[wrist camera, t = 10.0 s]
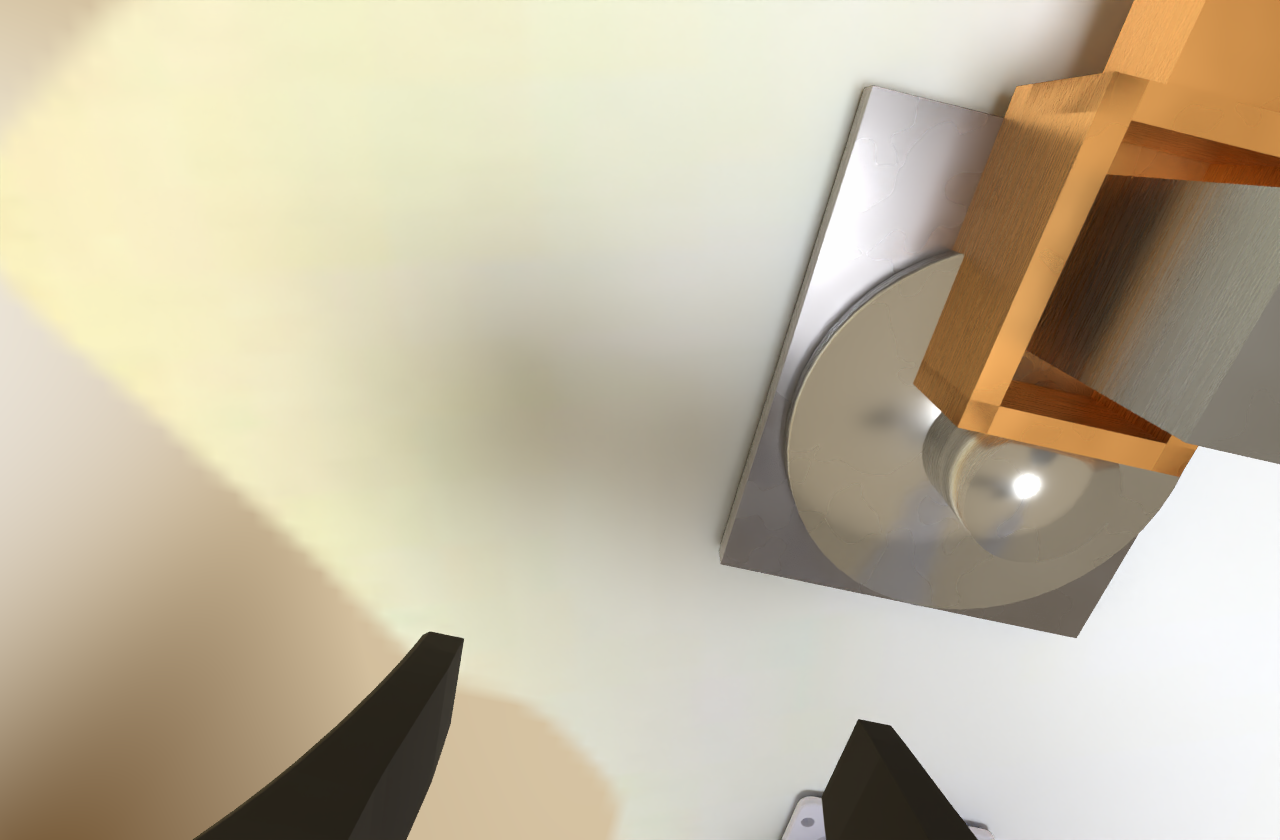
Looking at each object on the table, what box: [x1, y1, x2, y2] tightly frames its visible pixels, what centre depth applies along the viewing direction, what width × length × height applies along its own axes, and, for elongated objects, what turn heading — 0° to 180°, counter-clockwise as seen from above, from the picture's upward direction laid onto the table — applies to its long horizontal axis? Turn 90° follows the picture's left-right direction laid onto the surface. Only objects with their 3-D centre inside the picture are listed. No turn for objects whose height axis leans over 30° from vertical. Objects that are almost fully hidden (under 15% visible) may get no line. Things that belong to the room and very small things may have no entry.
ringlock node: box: [719, 0, 1280, 638], centre depth 16 cm, size 22×12×5 cm, turn 168°
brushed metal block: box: [1026, 174, 1280, 464], centre depth 14 cm, size 4×2×7 cm, turn 167°
